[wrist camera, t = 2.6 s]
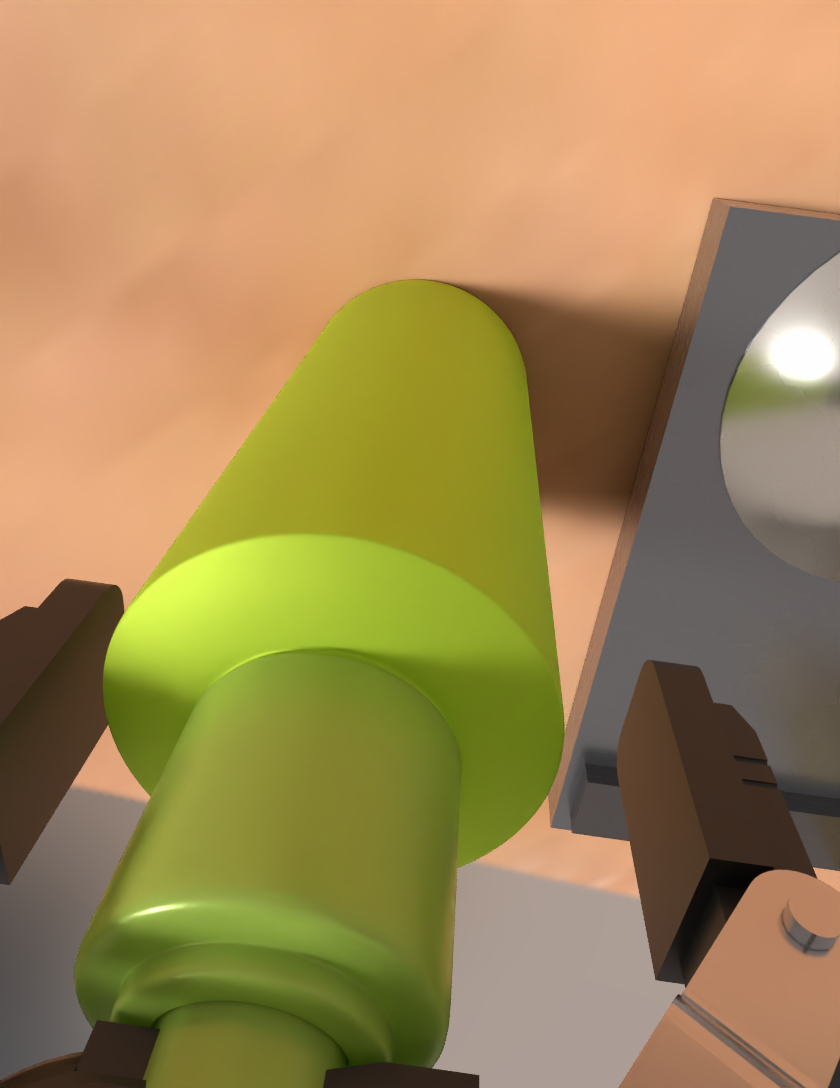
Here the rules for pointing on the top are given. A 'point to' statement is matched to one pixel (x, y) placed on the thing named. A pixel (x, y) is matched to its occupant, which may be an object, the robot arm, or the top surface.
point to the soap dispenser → (332, 708)
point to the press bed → (733, 525)
